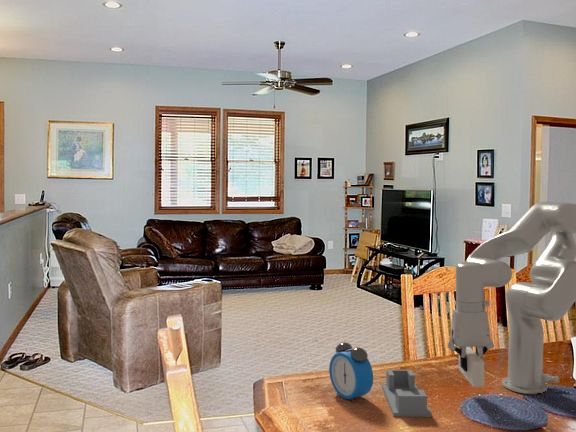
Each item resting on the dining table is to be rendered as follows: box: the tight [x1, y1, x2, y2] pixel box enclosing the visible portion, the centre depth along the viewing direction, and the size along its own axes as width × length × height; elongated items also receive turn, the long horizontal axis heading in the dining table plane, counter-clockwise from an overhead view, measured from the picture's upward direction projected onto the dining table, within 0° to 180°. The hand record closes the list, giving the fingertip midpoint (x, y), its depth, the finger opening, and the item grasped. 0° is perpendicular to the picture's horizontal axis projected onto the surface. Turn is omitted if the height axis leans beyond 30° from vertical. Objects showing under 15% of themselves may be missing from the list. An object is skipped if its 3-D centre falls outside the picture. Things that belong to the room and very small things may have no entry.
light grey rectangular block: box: [457, 347, 486, 388], centre depth 157 cm, size 3×14×7 cm, turn 179°
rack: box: [381, 369, 433, 418], centre depth 155 cm, size 10×21×6 cm, turn 179°
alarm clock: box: [328, 341, 374, 403], centre depth 158 cm, size 13×6×15 cm, turn 34°
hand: (470, 369), depth 157 cm, fingers closed on light grey rectangular block, 2 cm apart
